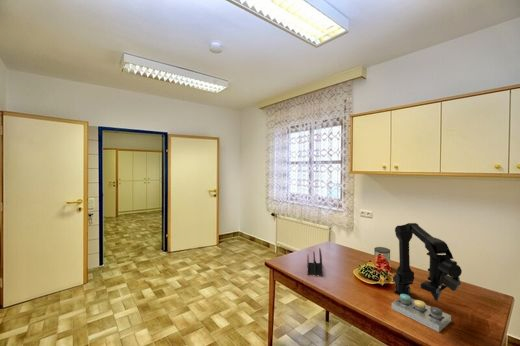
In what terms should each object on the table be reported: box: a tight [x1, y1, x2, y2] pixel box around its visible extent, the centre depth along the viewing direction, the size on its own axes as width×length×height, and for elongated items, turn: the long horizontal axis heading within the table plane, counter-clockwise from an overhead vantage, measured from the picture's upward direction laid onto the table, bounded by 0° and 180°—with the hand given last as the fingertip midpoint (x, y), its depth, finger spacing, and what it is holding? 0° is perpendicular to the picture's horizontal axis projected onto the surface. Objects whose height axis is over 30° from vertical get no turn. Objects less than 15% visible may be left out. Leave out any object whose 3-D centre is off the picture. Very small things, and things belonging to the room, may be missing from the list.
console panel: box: [391, 297, 452, 333], centre depth 119 cm, size 21×13×3 cm, turn 33°
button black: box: [430, 306, 443, 321], centre depth 113 cm, size 5×5×4 cm
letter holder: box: [306, 247, 324, 277], centre depth 171 cm, size 10×20×14 cm, turn 170°
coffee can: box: [374, 246, 391, 265], centre depth 171 cm, size 10×10×14 cm
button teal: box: [399, 294, 411, 306], centre depth 125 cm, size 5×5×4 cm
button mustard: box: [414, 299, 427, 313], centre depth 119 cm, size 5×5×4 cm
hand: (436, 300), depth 113 cm, fingers closed
